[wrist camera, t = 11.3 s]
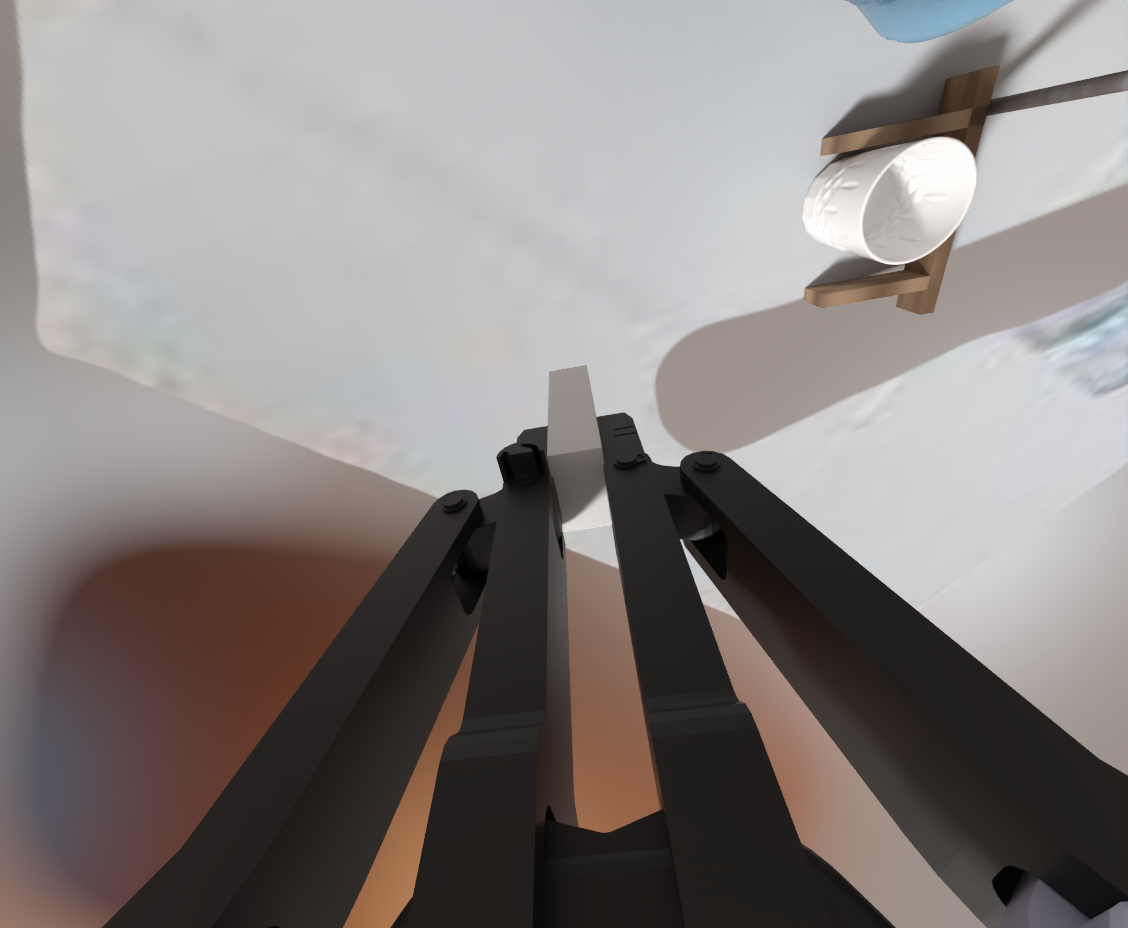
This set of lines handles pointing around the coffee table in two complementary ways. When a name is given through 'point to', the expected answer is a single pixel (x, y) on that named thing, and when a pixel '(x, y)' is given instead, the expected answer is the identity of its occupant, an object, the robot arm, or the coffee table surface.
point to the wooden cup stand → (965, 122)
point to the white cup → (893, 199)
